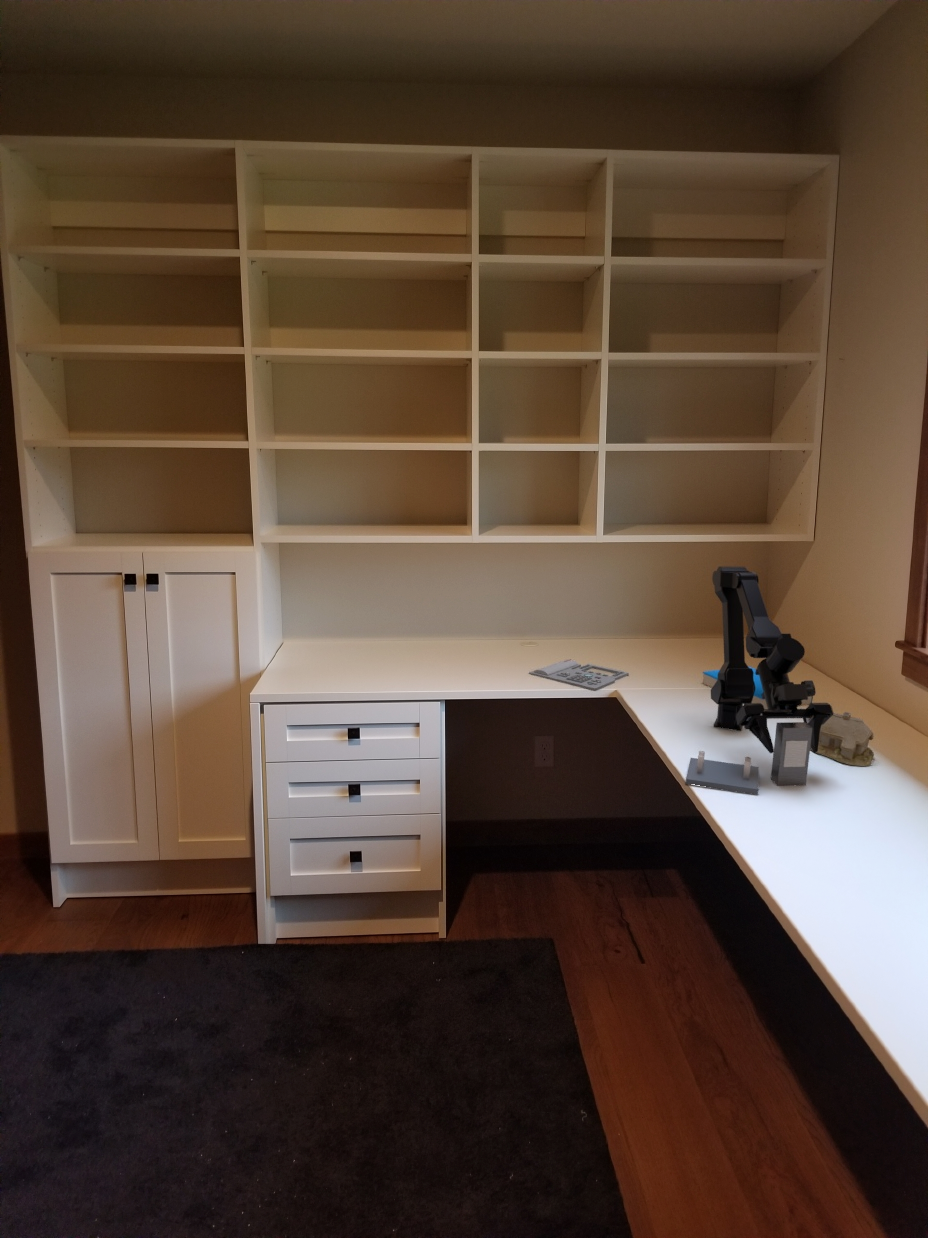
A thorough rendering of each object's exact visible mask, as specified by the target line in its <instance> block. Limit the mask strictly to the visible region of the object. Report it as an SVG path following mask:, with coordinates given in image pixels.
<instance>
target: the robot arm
mask: <svg viewBox="0 0 928 1238" xmlns="http://www.w3.org/2000/svg"><path fill="white" fill-rule="evenodd" d="M711 579H712V584H713V586H714V587H713V588H714V594H715V595H716V596H717V598H718V599H719V600H720V603H721V606H722V607H721V609H722V633H723V634H722V635H723V638H722V639H723V658H724V659H723V660H724V661H723V664H722V665H721V668H720V669H719V670H720V671H719V672H718V680H717V682H716V683H715V684H714V686H713V687H711V689H710V699H711V700H712V701H713V703H715V704H716V705H717V712H716V713H717V715H716V718H715V720H714V722H713V724H712V725H713V728H718V729H724V730H732V731H739V732H741V731H742V729H743V728H744V730H745V731H747V730H748V731H749V732H750V733H751V734H752V735H753V736H755V737H756V738H757V740H758V741H759V742H760V743H761V745H763V747H764V748H765V749H766V750H767V752H768V753H769V754H773V753H774V743H773V741H772V740H773V739H772V737H771V734H770V731H769V728H768V719H769V720H770V719H777V720H779V719H802V722H805V723H807V724H808V725H809V726H811V727H812V736H811V745H810V746H811V748H812V750H813V751H812V750H811V751H812V752H813V753H814V754H817V753H816V752H817V751H818V744H819V734H820V729H821V725H823V724H824V723H825V722H826V721H827V720H828V719H829V718H830V717H831V716H832V715H833V714H834V713H835V712H834V710H833V707H832V705H831V704H830V703H828V702H812V703H811V704H808V706H807V707H806V708H798V707H801V706H802V705H801V704H802V701H801V700H808V697H811V696H813V697H814V696H815V695H816V691H817V690H816V687H815V683H814V681H813V680H803V681H800V683H794V682H793V681H791V680H790V678H789V673H791V672H792V671H793V670H794V669H795V668H796V667H797V665H798V664H799V663H800V661H801V660H802V659H803V658H804V656H805V654H806V653H805V652H806V651H805V647H804V646H803V645H802V644H801V643H800V641H799V640H797V639H795V638H794V637H793V638H792V634H791V633H786V632H785V633H784V632H783V633H782V631H781V629H780V627H779V626H777V625H776V624H775V623H774V622H773V621H772V620H771V619H770V616H769V614H768V610H767V608H766V607H767V606H766V604H765V601H764V599H763V596H762V592H761V590H760V589H761V588H760V587H759V586H760V585H759V575H758V574H757V573H756V572H755V571H751V570H748V569H747V567H745V566H723V565H722V566H718V567H717V569H716V570H714V571H713V572H712V577H711ZM744 618H745V621H746V626H747V630H748V631H747V634H746V636H745V630H744V626H745V625H744ZM745 649H746V652H747V654H748V655H749V656H750V657H751V658H753V659H761V661H760V662H759V663H758V665H757V666H756V668H755V669H756V672H755V674H756V675H759V677H760V681H761V684H762V688H763V693H762V694H761V696H762V699H765V700H766V704H767V708H768V709H764V707H763V705H762V704H761V703H752V700H753V696H754V693H755V688H756V687H755V683H754V680H753V673H754V672H753V670H752V669H751V668H749V667H750V666H749V665H748V664H747V662H746V656H745V655H746V654H745Z"/></svg>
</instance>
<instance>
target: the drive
mask: <svg viewBox="0 0 928 1238" xmlns="http://www.w3.org/2000/svg"><path fill="white" fill-rule="evenodd" d="M774 735H775V736H774V743H773V749H774V752H773V753H772V754H773V755H772V764H771V774H770V780H771V781H772V782H773V783H774V784H775V785H776V786H778V787H781V786H782V787H787V786H794V785H796V786H797V787H798V786H807V777H808V770H809V769H808V768H809V763H810V762H809V760H810V753H811V752H810V751H811V749H810V745H811V736H812V727H811V726H809V725H808V724H807V723H805V722H804V721H802V722H796V721H795V722H792V721H791V722H790V721H789V722H785V721H784V722H776V726H775V734H774Z"/></svg>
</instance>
